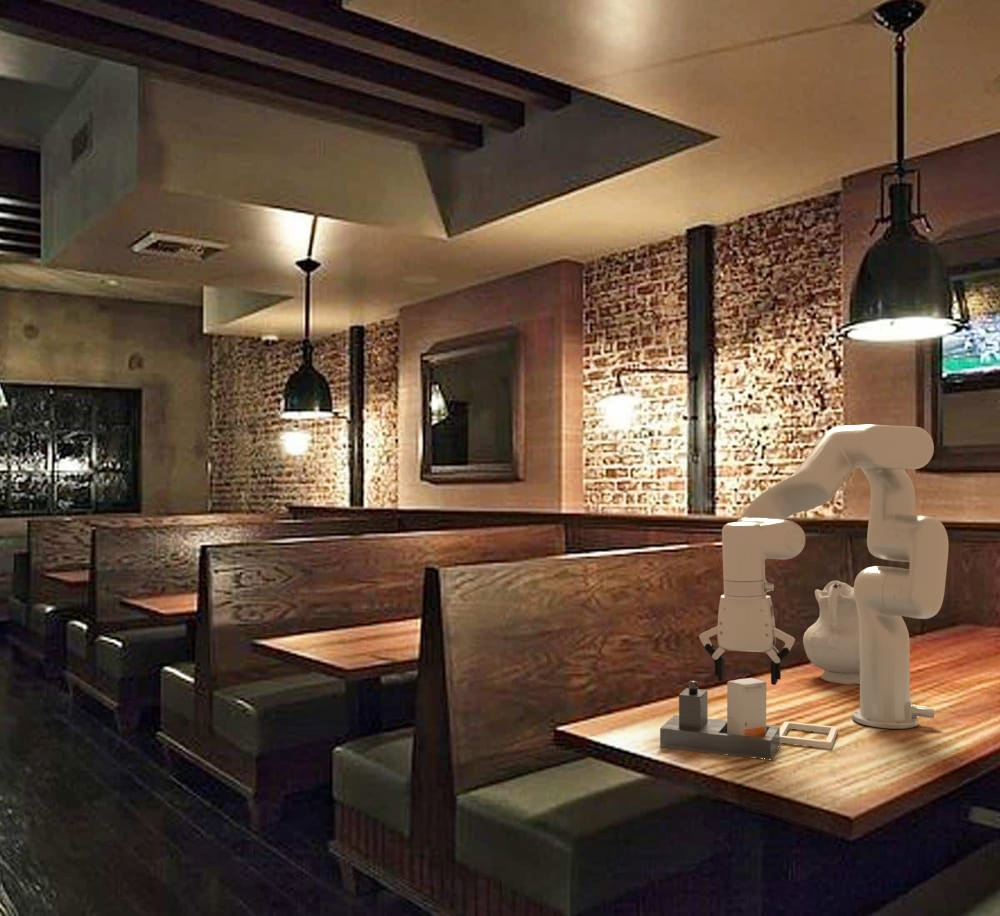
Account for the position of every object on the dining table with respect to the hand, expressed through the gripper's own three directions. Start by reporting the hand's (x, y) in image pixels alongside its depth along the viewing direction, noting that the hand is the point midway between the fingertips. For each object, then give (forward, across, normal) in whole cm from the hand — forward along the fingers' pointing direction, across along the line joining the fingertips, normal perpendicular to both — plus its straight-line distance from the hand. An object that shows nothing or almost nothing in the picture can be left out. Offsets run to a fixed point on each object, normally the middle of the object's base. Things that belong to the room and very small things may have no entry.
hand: (747, 681), depth 177 cm
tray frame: (+13, -9, -11) cm, 19 cm away
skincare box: (+12, 0, +1) cm, 12 cm away
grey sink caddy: (+12, +5, +1) cm, 13 cm away
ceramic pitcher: (+15, -11, -68) cm, 71 cm away
